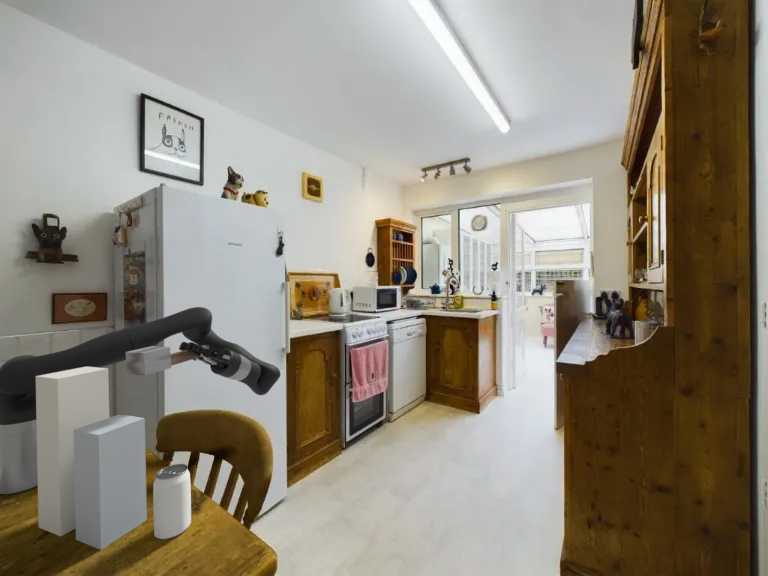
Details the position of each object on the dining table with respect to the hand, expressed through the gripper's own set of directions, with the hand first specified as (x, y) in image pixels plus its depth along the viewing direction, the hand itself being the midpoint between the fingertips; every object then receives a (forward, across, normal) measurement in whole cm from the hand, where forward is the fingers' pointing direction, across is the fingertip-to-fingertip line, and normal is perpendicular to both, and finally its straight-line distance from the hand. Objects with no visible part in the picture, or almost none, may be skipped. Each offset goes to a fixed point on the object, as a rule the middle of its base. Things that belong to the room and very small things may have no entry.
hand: (185, 345), depth 84 cm
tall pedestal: (-2, -12, +39) cm, 41 cm away
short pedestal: (-2, 0, +39) cm, 39 cm away
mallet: (0, 0, +5) cm, 5 cm away
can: (-6, +12, +37) cm, 40 cm away
